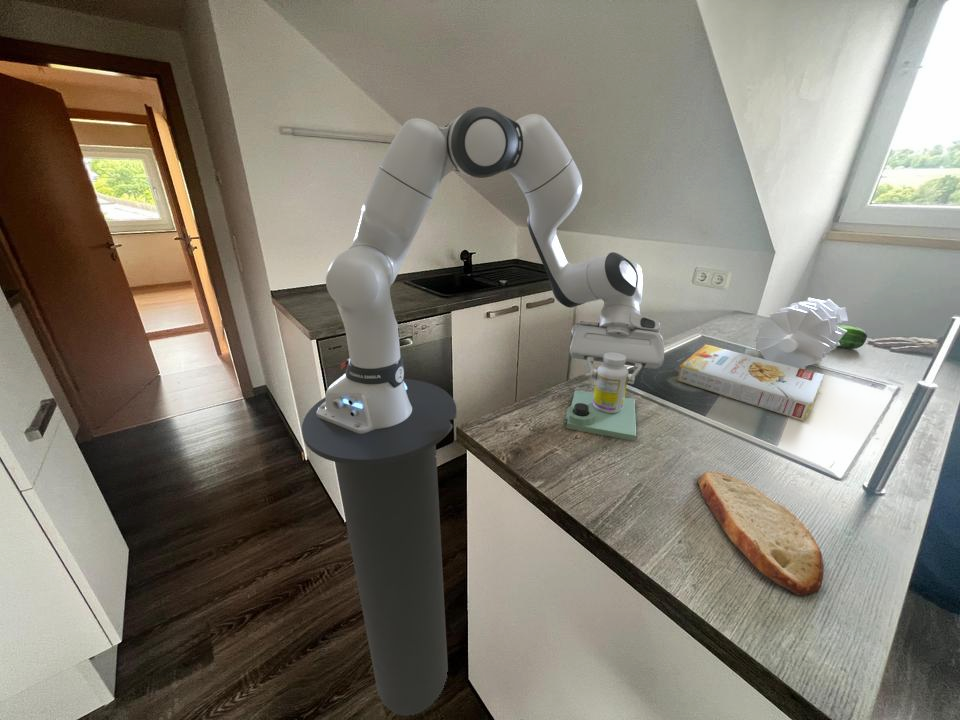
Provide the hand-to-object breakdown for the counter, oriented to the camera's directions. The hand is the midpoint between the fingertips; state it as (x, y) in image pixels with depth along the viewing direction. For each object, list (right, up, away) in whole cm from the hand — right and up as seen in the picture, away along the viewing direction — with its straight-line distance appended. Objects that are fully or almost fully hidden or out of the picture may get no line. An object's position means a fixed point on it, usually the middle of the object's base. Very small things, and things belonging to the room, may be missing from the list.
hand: (611, 380), depth 86 cm
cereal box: (+41, -3, +16) cm, 43 cm away
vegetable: (+86, +10, +45) cm, 98 cm away
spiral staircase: (+66, +4, +32) cm, 73 cm away
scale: (-1, -8, +3) cm, 9 cm away
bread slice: (+12, -21, -27) cm, 36 cm away
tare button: (-7, -7, -2) cm, 10 cm away
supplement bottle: (0, -6, +3) cm, 7 cm away
